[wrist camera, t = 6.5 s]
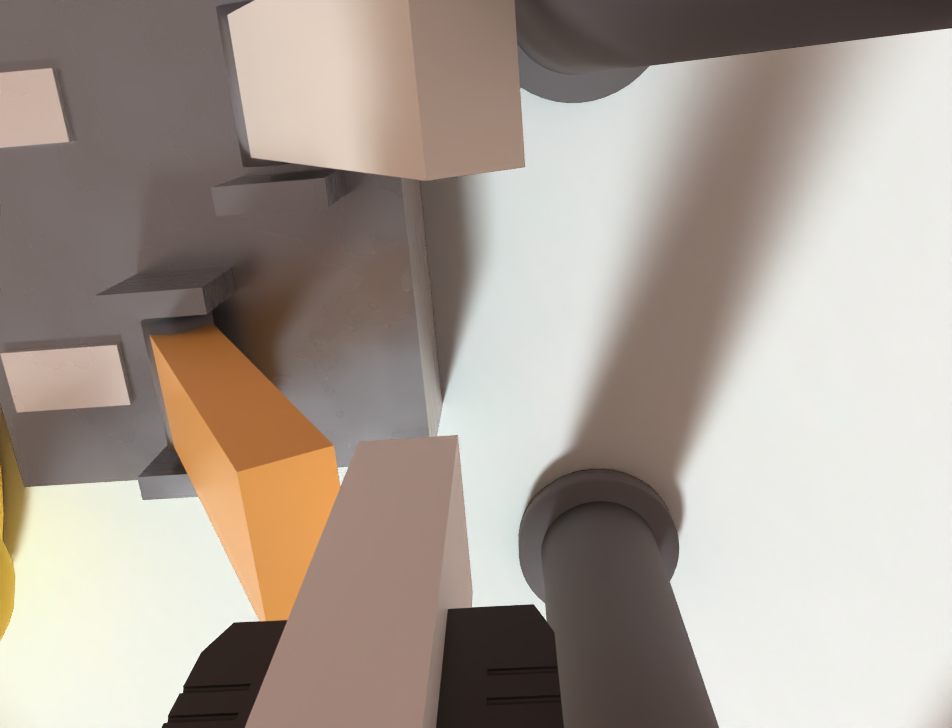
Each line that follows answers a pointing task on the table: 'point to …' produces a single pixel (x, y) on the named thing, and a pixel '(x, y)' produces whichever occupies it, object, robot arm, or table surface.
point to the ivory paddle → (376, 85)
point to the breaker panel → (184, 249)
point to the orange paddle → (243, 457)
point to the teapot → (5, 575)
